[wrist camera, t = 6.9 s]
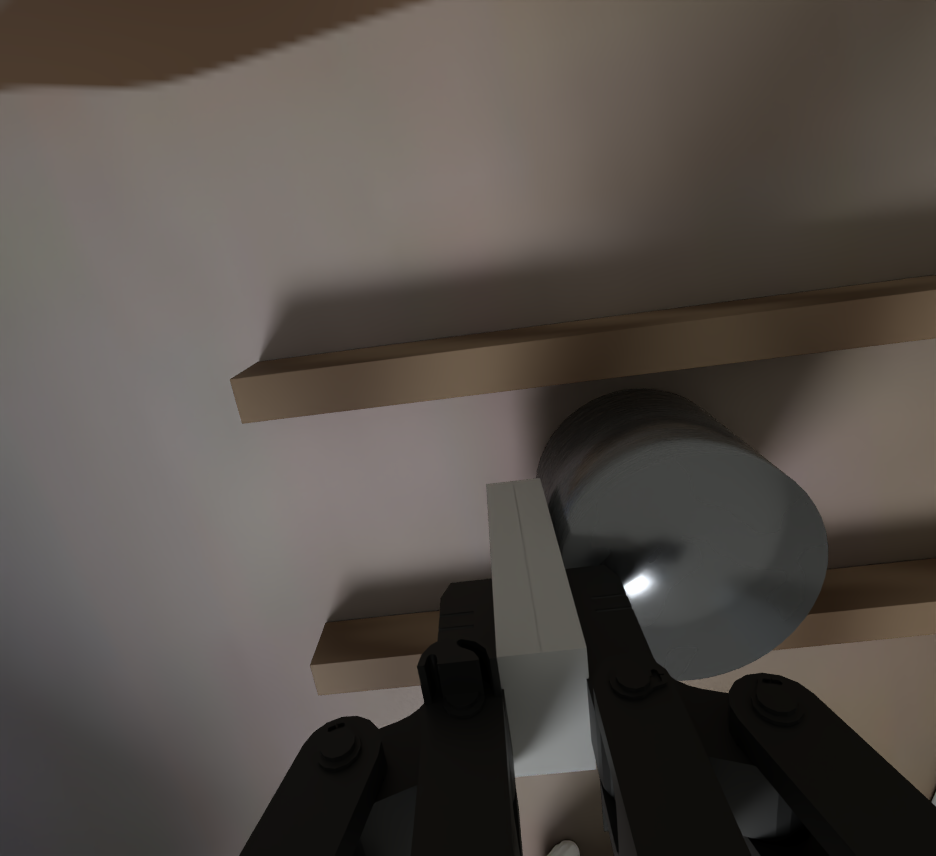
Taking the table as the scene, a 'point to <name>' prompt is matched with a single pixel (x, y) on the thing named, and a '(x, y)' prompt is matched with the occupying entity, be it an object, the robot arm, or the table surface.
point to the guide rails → (593, 358)
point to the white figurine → (565, 849)
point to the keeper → (685, 528)
